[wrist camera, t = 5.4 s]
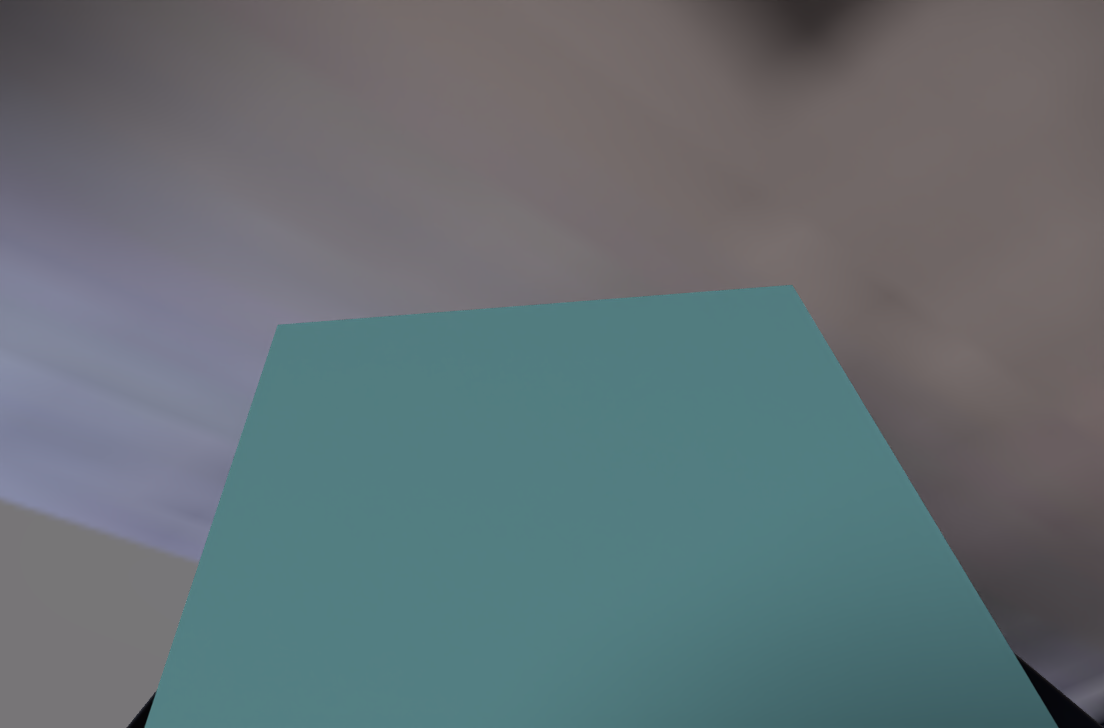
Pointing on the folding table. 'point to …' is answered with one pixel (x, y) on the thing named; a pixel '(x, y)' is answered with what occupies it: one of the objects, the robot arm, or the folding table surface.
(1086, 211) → the folding table surface
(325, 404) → the teal block
